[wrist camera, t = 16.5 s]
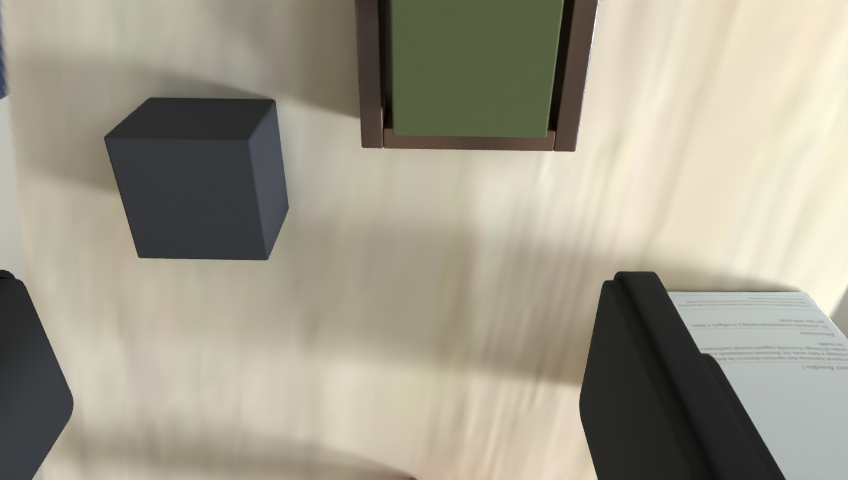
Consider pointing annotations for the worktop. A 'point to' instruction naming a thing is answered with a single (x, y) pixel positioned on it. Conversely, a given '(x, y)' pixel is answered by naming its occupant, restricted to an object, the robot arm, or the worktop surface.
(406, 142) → the brown divided tray
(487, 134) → the olive green block
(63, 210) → the worktop surface
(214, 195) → the dark grey block
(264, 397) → the worktop surface
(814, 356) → the white packaging box
